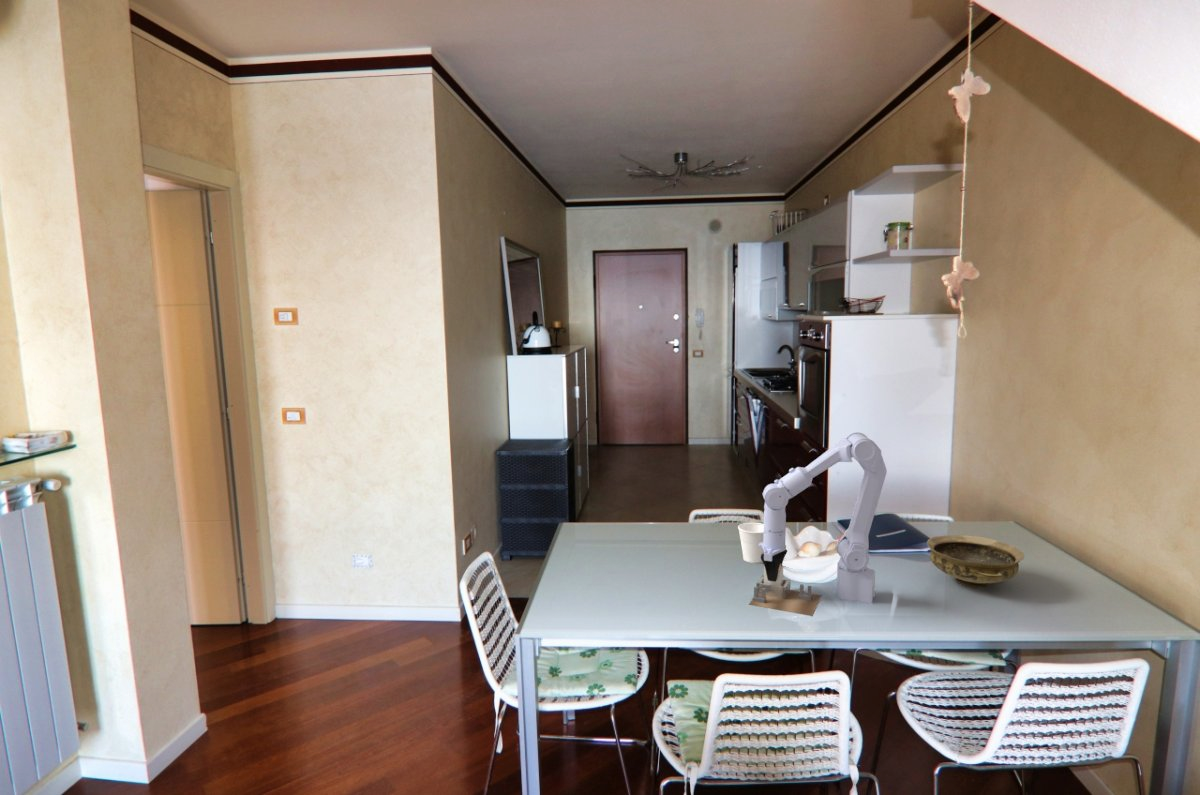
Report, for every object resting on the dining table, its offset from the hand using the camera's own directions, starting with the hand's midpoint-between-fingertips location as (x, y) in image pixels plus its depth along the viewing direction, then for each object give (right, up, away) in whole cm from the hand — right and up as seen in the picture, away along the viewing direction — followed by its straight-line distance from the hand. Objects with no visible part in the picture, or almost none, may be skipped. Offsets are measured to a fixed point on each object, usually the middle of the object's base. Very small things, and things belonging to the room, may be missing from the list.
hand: (773, 578), depth 186 cm
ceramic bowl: (+58, -3, +8) cm, 58 cm away
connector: (0, -2, 0) cm, 2 cm away
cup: (0, -2, +25) cm, 26 cm away
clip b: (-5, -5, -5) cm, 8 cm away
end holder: (0, -4, 0) cm, 4 cm away
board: (+2, -5, -4) cm, 7 cm away
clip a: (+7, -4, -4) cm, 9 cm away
